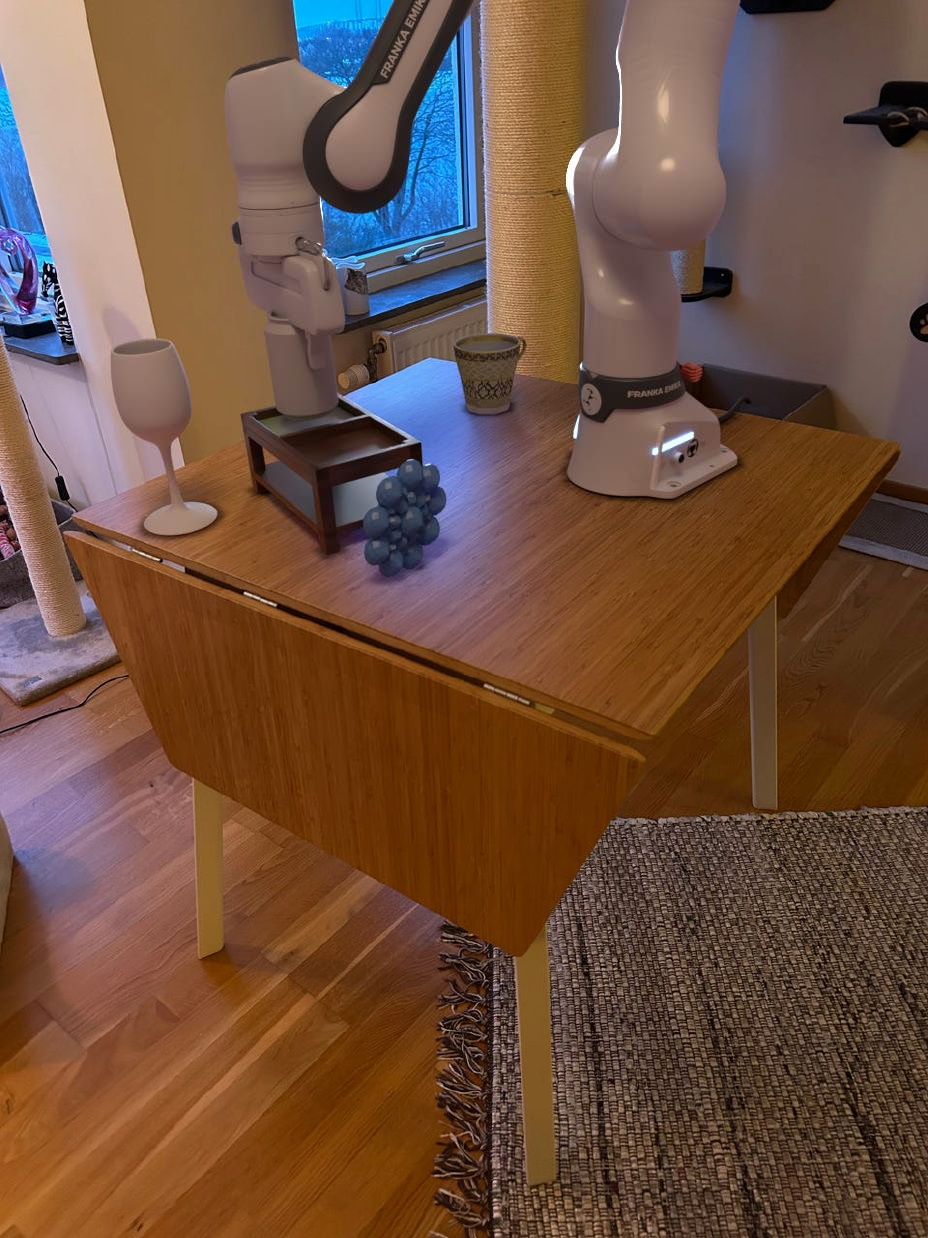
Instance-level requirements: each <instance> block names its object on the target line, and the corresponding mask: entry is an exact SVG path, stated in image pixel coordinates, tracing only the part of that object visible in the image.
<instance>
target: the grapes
mask: <svg viewBox="0 0 928 1238" xmlns="http://www.w3.org/2000/svg"><path fill="white" fill-rule="evenodd" d="M440 474H441V473H440V470H439V469H438V466H437V465H435V464H433V463H426V464H423V467H422V466H421V464H420V463H419V462H418V461H416V460H414V459H412V460H407V461H406V462H404V463H403V464H402V465H401V466H400V468H398V469H397V472H396V476H395V475H390V476H389V475H388V476H389V477H386V478H385V479H383V480H382V481H381V482H380V484H379V485H378V486H377V491H376V498H377V501H378V503H379V504H378V505H377V506H376V507H373V508H372V509H370V510H369V511H368V512H367V513H366V515H365V516H364V521H363V531H364V533H365V535H366V537H368V540H367V542H366V543H365V545H364V549H363V554H364V559H365V561H366V563H367V564H368V565H370V566H373V567H375V566H377V567H378V572H379V573H380V575H381V576H382V577H384V578H387V579H388V578H393V577H395V576H396V575H398V574H399V573H400V572H401V570H402V569H405V570H413V569H415V568H416V567H417V566H419V564H420V563H421V562H422V560H423V557H424V546H428V545H431V544H433V543H434V542H435V541H436V540H437V538H439V535H440V532H441V531H440V530H441V527H440V522H439V520H438V519H437V517H436V516H437V515H439V514H440V513H441V512H443V510H444V509H445V507H446V505H447V494H446V492H445V490H444V488H443V487H441V486H439V485H440V481H441V475H440Z"/></svg>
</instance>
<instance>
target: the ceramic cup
mask: <svg viewBox="0 0 928 1238" xmlns="http://www.w3.org/2000/svg"><path fill="white" fill-rule="evenodd" d="M521 342H522V343H521ZM521 344H522V349H521ZM452 346H453V347H452V348H453V351H454V357H455V358H454V359H455V362H456V366H457V370H458V373H459V376H460V381H461V382H460V383H461V386H462V391H463V396H464V401H465V405H466V409H467V411H468V412H470V413H472V414H476V415H498V414H500V413H504V412H506V411H509V410H510V405H511V401H512V400H511V399H512V392H513V386H514V380H515V374H516V371H517V367H518V363H519V362H520V360H521V359H522V357H523V356H524V355H525V353H526V350H527V341H526V338H524V337H522V336H515V335H510V334H506V333H498V332H497V333H496V332H495V333H494V332H487V333H485V332H484V333H475V334H469V335H465V336H462V337H459V338H457V339H456V340H455V341H454V342H453V343H452Z"/></svg>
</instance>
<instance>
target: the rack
mask: <svg viewBox="0 0 928 1238" xmlns="http://www.w3.org/2000/svg"><path fill="white" fill-rule="evenodd" d="M338 401H339V402H338V405H337V406H336V407H335V408H334V409H333V411H332V412H331V413H330V414H329V415H327V416H324V417H321V418H318V419H312V420H293V419H289V418H287V417H285V415H284V414H282V413H280V412H279V411H278V410H277V408H276V405H273V406H269V407H264V408H260V409H256V410H251V411H245V412H242V413H240V414H239V415H240V421H241V425H242V432H243V439H244V443H245V448H246V454H247V460H248V465H249V466H248V467H249V471H250V476H251V477H250V478H251V483H252V488H253V491H254V492H255V493H257V494H258V495H259V494H263V493H267V492H269V493H271V494H272V495H273V496H274V497H275V498H277V499H278V500H279V501H280V502H281V503H282V504H284V505H285V506H286V507H287V508H288V509H289V510H290V511H292V513H294V514H295V515H296V516H298V517H299V518H300V519H301V521H303V522H304V523H305V524H307V526H309V527H310V528H311V529H312V530H313V531H315V533H317V534H318V540H319V548H320V551H321V552H322V553H324V554H325V555H326V556H328V555H331V554H335V553H338V552H340V544H339V536H340V535H343V534H345V533H349V532H353V531H355V530H359V529H362V528H363V521H364V516H365V515H366V513H367V512H368V511H369V510H370V509H372V508H373V507H376V506H377V505H378V504H379V503H378V501H377V498H376V491H377V486H378V485H379V484H380V482H381V481H382V480H383V479H385V478H386V477H389V475H387V474H386V473H387V472H391V471H394V470H398V469H399V468H400V466H401V465H402V464H403V463H404V462H406V461H407V460H412V459H414V460H416V461H418V462H419V463H420V464H421V466H422V467H423V466H424V459H423V446H422V441H421V440H419V439H417V438H416V437H414V436H412V435H410V434H408V432H405V431H403V430H402V429H400V428H398V427H396V426H394V425H393V424H391V423H390V422H388V421H387V420H384V418H381V417H379V416H378V415H376V414H374V413H372V412H371V411H369V410H367V409H366V408H364V407H362V406H360V404H359V405H358V404H357V403H355V402H354V401H352V400H350V399H349V398H346V397H345V396H343V395H341V394H340V393H338ZM264 450H266V451H267V452H268V453H269V454H271V455H273V457H275V458H276V459H277V461H274V462H270V463H266V460H265V455H264Z"/></svg>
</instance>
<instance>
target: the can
mask: <svg viewBox="0 0 928 1238" xmlns="http://www.w3.org/2000/svg"><path fill="white" fill-rule="evenodd" d="M266 316H267V317H266V318H267V319H268V318H269V321H267V322H266V324H265V326H264V327H263V334H264V335H263V336H264V341H265V346H266V353H267V360H268V366H269V371H270V377H271V378H270V379H271V383H272V391H273V396H274V397H273V398H274V403H275V406H276V408H277V410H278V411H279V412H280V413H282V414H284V415H285V417H287V418H289V419H293V420H312V419H318V418H321V417H324V416H327V415H329V414H330V413H331V412H332V411H333V409H334V408H335V407H336V406H337V405H338V402H339V401H338V394H339V393H338V385H337V378H336V369H335V360H334V354H333V353H334V351H333V345H332V335H328V340H327V345H326V349H325V360H326V365H325V367H323V368H319V369H313V368H311V367H309V366H308V365H307V364H306V356H305V352H306V351H308V339H306V337H305V331H304V330H302V329H300V328H298V327H296V326H294V325H292V324H290V321H289V319H281V318H279V317H277V316H275V315H274V313H273V311H271V312H269V313H268V315H267V314H266Z"/></svg>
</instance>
